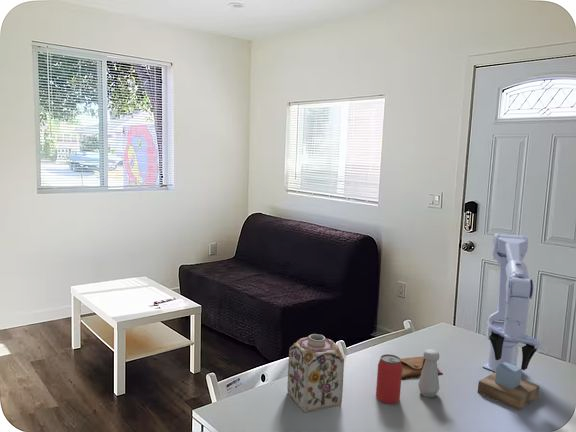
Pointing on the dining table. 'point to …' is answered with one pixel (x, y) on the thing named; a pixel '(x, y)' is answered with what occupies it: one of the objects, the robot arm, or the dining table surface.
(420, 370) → the sunglasses case
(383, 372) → the beer can
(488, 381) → the wooden block
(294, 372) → the decorative jar
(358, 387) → the dining table surface
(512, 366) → the blue cube
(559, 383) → the dining table surface
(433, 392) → the salt shaker
